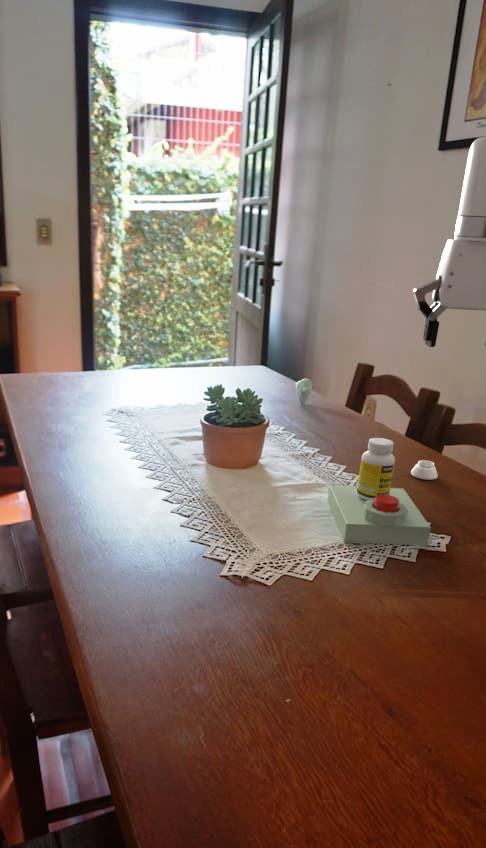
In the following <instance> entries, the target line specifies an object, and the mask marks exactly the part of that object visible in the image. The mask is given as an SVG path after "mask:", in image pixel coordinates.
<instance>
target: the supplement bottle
mask: <svg viewBox="0 0 486 848" xmlns="http://www.w3.org/2000/svg"><path fill="white" fill-rule="evenodd" d="M393 451H394V441H392V440H391V439H386V438H383V437H372V438H369V439H368V443H367V450H366V451H364V452H363V454H362V455H361V460H360V465H359V473H358V478H357V479H358V480H357V486H356V487H357V495H358V496H359V497H360V498H362V499H364V500H367V501H368V500H373V499H375V497H376V496H378V495H389V494H390V488H392V481H393V476H394V470H395V464H396V457H395V456H394V454H392V452H393Z"/></svg>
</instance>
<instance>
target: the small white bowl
mask: <svg viewBox="0 0 486 848" xmlns="http://www.w3.org/2000/svg"><path fill="white" fill-rule="evenodd" d="M410 474H411V475H412V477H414V478H416V479H419V480H425V481H431V480H436V479H437V478H438V476H439V475H438V472H437V467H436V466H435V462H434V461H431V460H425V459H420V460H418V462H417V463H416V464H414V466H413V468H412V469H411V471H410Z"/></svg>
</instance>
